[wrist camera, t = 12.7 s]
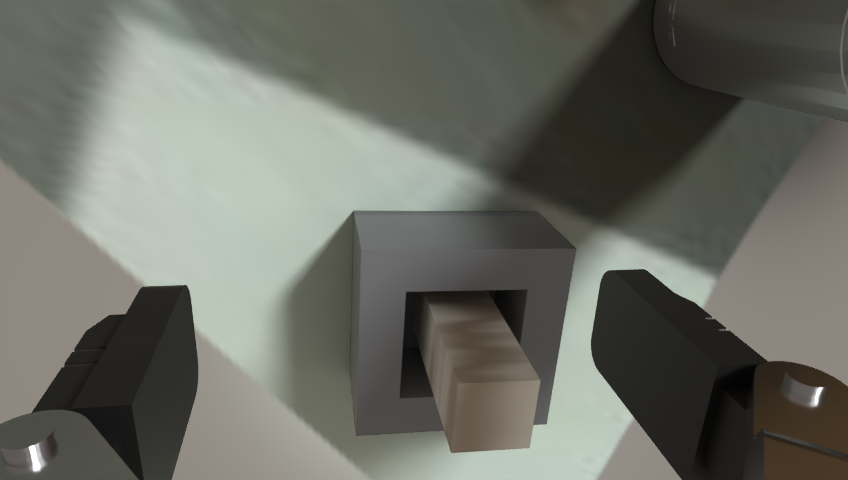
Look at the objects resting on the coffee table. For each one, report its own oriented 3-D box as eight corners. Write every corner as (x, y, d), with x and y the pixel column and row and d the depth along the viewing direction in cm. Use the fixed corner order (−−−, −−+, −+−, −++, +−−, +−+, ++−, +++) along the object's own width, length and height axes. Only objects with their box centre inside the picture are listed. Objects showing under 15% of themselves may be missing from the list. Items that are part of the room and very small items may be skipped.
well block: (537, 211, 40) (576, 248, 34) (515, 368, 44) (546, 423, 38) (353, 210, 38) (361, 249, 32) (349, 375, 42) (355, 435, 36)
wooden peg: (477, 274, 40) (540, 380, 29) (471, 327, 41) (529, 448, 30) (417, 274, 39) (458, 383, 28) (413, 329, 41) (451, 453, 30)
